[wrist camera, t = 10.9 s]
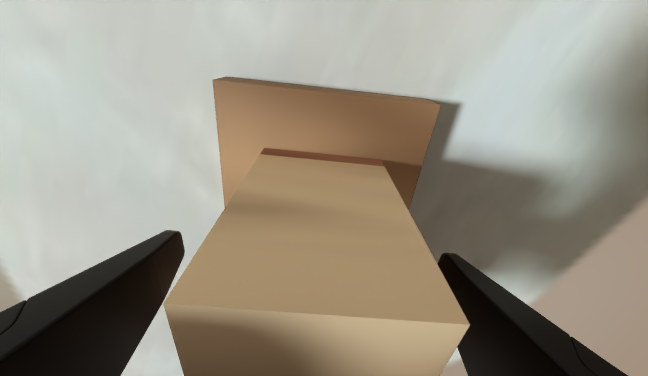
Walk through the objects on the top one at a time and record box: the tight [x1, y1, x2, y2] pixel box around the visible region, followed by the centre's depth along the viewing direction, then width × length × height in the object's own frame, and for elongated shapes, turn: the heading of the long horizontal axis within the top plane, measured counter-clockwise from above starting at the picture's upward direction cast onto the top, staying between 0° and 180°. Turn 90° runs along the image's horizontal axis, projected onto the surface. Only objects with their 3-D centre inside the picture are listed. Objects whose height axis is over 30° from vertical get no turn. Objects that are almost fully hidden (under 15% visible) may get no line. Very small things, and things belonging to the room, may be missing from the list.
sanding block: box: [163, 148, 470, 376], centre depth 7 cm, size 6×4×6 cm, turn 174°
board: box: [213, 77, 441, 209], centre depth 12 cm, size 16×7×1 cm, turn 174°
